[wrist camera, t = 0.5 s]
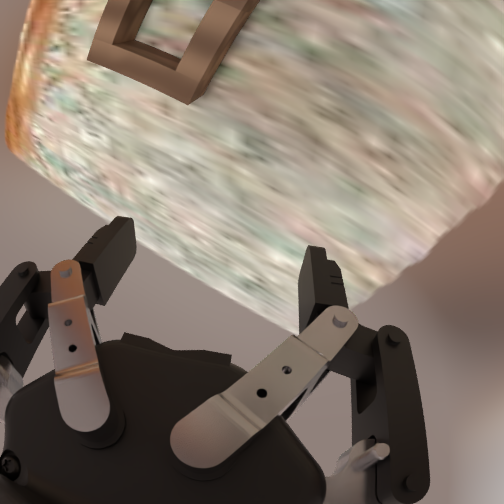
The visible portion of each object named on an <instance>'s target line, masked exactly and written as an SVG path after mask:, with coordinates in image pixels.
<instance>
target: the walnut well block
mask: <svg viewBox="0 0 504 504" xmlns="http://www.w3.org/2000/svg"><path fill="white" fill-rule="evenodd" d="M259 1H260V0H214V1H213V2H212V4H211V5H210V7H209V9H208V10H207V12H206V14H205V16H204V17H203V19H202V21H201V23H200V24H199V26H198V28H197V30H196V32H195V33H194V35H193V37H192V39H191V41H190V43H189V45H188V47H187V49H186V51H185V53H184V55H183V57H182V59H179V58H177V57H175V56H173V55H170V54H168V53H166V52H163V51H161V50H158V49H156V48H154V47H151V46H149V45H146V44H143V43H141V42H138V41H136V40H134V39H135V37H136V35H137V32H138V30H139V28H140V26H141V23H142V21H143V19H144V17H145V15H146V13H147V10H148V8H149V6H150V4H151V2H152V0H108V2H107V5H106V7H105V9H104V12H103V14H102V17H101V19H100V22H99V25H98V27H97V30H96V33H95V36H94V39H93V42H92V45H91V48H90V51H89V54H88V57H87V60H88V61H91V62H93V63H96V64H98V65H101V66H103V67H106V68H108V69H111V70H113V71H116V72H118V73H120V74H123V75H125V76H127V77H130V78H132V79H134V80H136V81H139V82H141V83H143V84H145V85H147V86H149V87H152V88H154V89H156V90H158V91H160V92H162V93H164V94H166V95H168V96H170V97H172V98H175V99H177V100H179V101H181V102H183V103H185V104H186V105H189V104H190V103H192V102H193V101H195V100H196V99H198V98H199V97H201V96H202V95H203V94H204V92H205V90H206V88H207V86H208V85H209V83H210V81H211V79H212V77H213V75H214V74H215V72H216V70H217V68H218V67H219V65H220V63H221V61H222V60H223V58H224V56H225V54H226V53H227V51H228V49H229V48H230V46H231V44H232V43H233V41H234V39H235V38H236V36H237V35H238V33H239V31H240V30H241V28H242V27H243V25H244V24H245V22H246V20H247V19H248V17H249V16H250V14H251V13H252V11H253V10H254V8H255V7H256V5H257V4H258V2H259Z"/></svg>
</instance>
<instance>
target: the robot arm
mask: <svg viewBox="0 0 504 504" xmlns="http://www.w3.org/2000/svg"><path fill="white" fill-rule="evenodd" d="M135 254H136V238H135V228H134V221H133V219H132V218H129V217H121V216H117V217H115V218H114V220H113V221H112V222H111V223H110V224H109V225H105V226H104V227H102V228H100V229H99V230H98V231H97V232H96V233H95V234H94V235H93V236H92V238H90V239H89V240H88V242H87V243H86V244H85V245H84V247H82V249H81V250H80V251H79V252H78V253H77V255H76V256H75V257H74V258H73V259H72V260H64V261H61V262H59V263H58V264H56V265H55V266H54V267H53V268H52V270H51V271H38V269H37V266H36V264H35V263H34V262H30V261H28V262H23V263H21V264H19V265H17V266H16V267H15V268H14V269H13V270H12V272H11V273H10V274H9V276H8V277H7V278H6V279H5V281H4V282H3V283H2V285H1V286H0V423H3V424H4V425H5V441H4V448H3V452H2V455H1V457H0V504H413V503H416V502H418V501H419V500H421V499H422V498H423V497H424V496H425V495H426V493H427V491H428V489H429V486H430V471H429V459H428V448H427V438H426V430H425V422H424V415H423V408H422V402H421V396H420V390H419V385H418V380H417V374H416V369H415V365H414V360H413V356H412V351H411V347H410V342H409V339H408V337H407V335H406V334H405V333H404V332H403V331H402V330H401V329H400V328H398V327H395V326H392V325H386V326H383V327H381V328H380V329H379V331H378V332H377V331H375V330H372V329H369V328H367V327H364V326H362V325H360V324H359V323H358V319H357V317H356V315H355V314H354V313H353V312H352V311H351V310H349V308H348V303H347V298H346V293H345V288H344V286H343V285H344V283H343V279H342V274H341V269H340V268H339V266H338V265H337V264H336V262H335V261H332V260H327V256H326V250H325V248H322V247H316V246H310V245H308V247H307V249H306V253H305V256H304V260H303V264H302V267H301V271H300V274H299V280H298V298H299V335H298V336H297V337H296V336H295V335H291V336H290V337H288V338H287V339H286V340H285V341H284V342H283V343H282V344H280V345H279V346H278V347H277V348H276V349H275V350H274V351H272V352H271V353H270V354H269V355H268V356H267V357H266V358H264V359H263V360H262V361H261V362H260V363H259V364H257V365H256V366H255V367H254V368H253V369H251V370H250V371H249V372H247V371H245V370H244V369H242V368H241V367H239V366H237V365H235V364H232V363H231V356H232V355H229V354H223V353H218V352H212V351H206V350H182V351H181V350H172V349H170V348H167V347H165V346H163V345H161V344H159V343H157V342H155V341H153V340H151V339H149V338H145V337H141V336H137V335H133V334H129V333H125V332H124V334H123V336H122V338H121V340H112V341H107V342H103V343H102V340H101V336H100V332H99V328H98V324H97V320H96V316H95V312H94V309H93V307H94V306H95V304H100V305H103V306H105V305H106V303H107V301H108V300H109V298H110V296H111V295H112V293H113V291H114V290H115V288H116V286H117V284H118V283H119V281H120V280H121V278H122V276H123V275H124V273H125V272H126V270H127V268H128V267H129V265H130V263H131V262H132V261H133V259H134V257H135ZM23 304H24V306H25V308H26V312H25V313H24V315H23V317H22V318H21V320H20V321H19V323H18V325H17V326H16V316H17V314H18V312H19V310H20V309H21V307H22V306H23ZM48 327H50V337H51V345H52V353H53V360H54V367H55V369H54V370H52V371H50V372H49V373H47V374H45V375H43V376H42V377H40V378H38V379H37V380H35V381H33V382H31V383H30V384H28V385H26V386H24V387H23V377H24V374H25V372H26V370H27V368H28V366H29V364H30V362H31V360H32V358H33V356H34V354H35V352H36V350H37V348H38V346H39V344H40V342H41V340H42V338H43V336H44V335H45V333H46V331H47V329H48ZM331 371H333V372H336V373H338V374H341V375H344V376H346V377H349V378H351V403H352V447H351V448H349V449H348V450H347V451H345V452H344V453H343V454H341V456H340V457H339V459H338V461H337V464H336V468H335V471H334V473H333V474H332V475H331V476H330V477H325V476H324V473H323V471H322V469H321V467H320V466H319V464H318V463H317V462H316V460H315V459H314V458H313V457H312V455H311V454H310V453H309V451H308V450H307V449H306V448H305V446H304V445H303V444H302V442H301V441H300V440H299V438H298V437H297V436H296V434H295V433H294V432H293V430H292V429H291V428H290V426H289V425H288V424H287V421H288V420H289V419H290V418H291V417H292V416H293V415H294V414H295V413H296V412H297V411H298V409H299V408H300V407H301V406H302V404H303V403H304V402H305V401H306V399H307V398H308V397H309V396H310V395H311V394H312V393H313V392H314V390H315V389H316V388H317V387H318V386H319V385H320V384H321V382H322V381H323V380H324V379H325V378H326V377H327V375H328V374H329V373H330V372H331Z"/></svg>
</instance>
